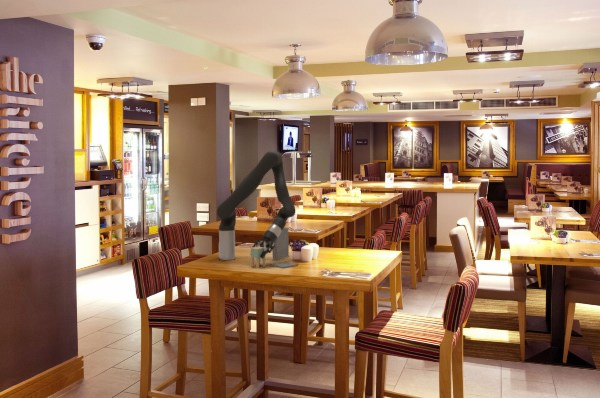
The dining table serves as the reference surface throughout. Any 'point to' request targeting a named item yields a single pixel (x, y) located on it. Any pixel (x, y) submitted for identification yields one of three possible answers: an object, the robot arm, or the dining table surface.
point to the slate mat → (284, 265)
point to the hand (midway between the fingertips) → (256, 256)
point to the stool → (257, 256)
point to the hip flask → (281, 245)
